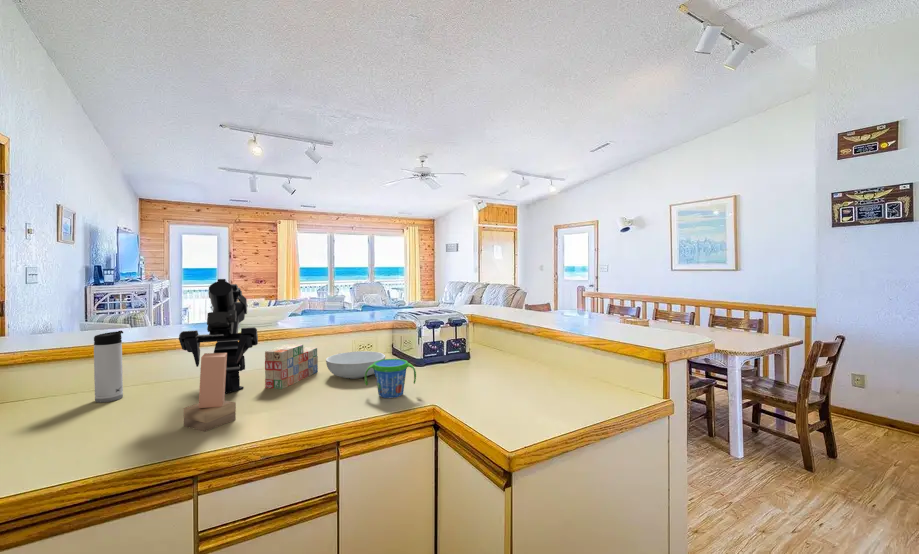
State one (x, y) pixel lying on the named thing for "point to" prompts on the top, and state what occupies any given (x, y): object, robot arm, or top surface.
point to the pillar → (212, 380)
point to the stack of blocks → (289, 365)
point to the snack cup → (390, 376)
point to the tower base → (211, 424)
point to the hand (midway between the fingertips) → (217, 364)
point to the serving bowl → (353, 363)
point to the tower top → (209, 412)
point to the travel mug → (108, 367)
